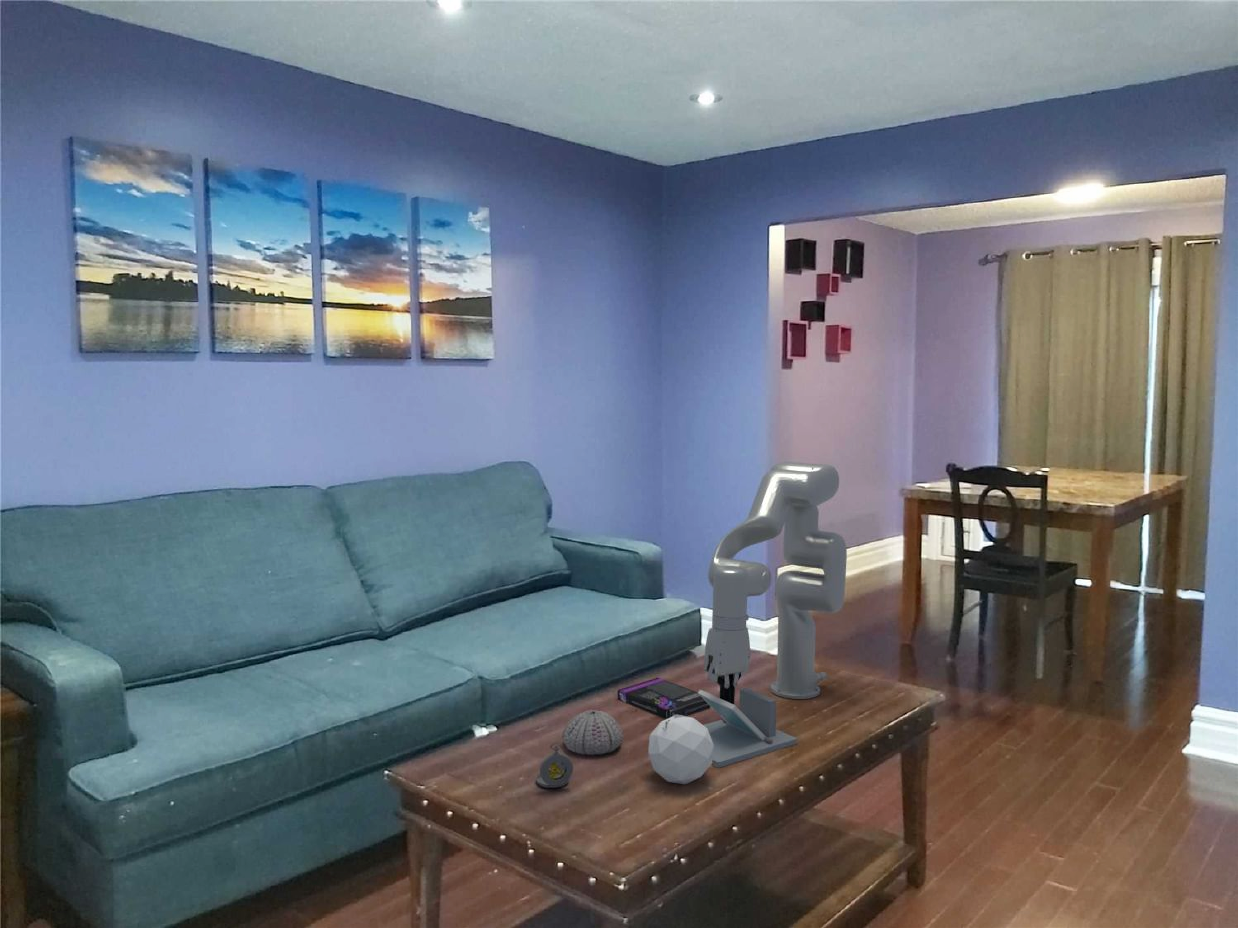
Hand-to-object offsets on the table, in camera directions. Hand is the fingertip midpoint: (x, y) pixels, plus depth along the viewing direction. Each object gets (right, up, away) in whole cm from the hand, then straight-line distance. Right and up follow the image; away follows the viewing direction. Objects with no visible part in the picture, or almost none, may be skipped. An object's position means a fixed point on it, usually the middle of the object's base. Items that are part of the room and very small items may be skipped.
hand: (726, 703), depth 212 cm
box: (-13, -7, +26) cm, 30 cm away
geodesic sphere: (-11, -11, -17) cm, 24 cm away
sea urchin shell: (-30, -10, -1) cm, 31 cm away
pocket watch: (-37, -12, -20) cm, 44 cm away
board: (+1, -9, +2) cm, 10 cm away
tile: (+1, -3, +2) cm, 3 cm away
